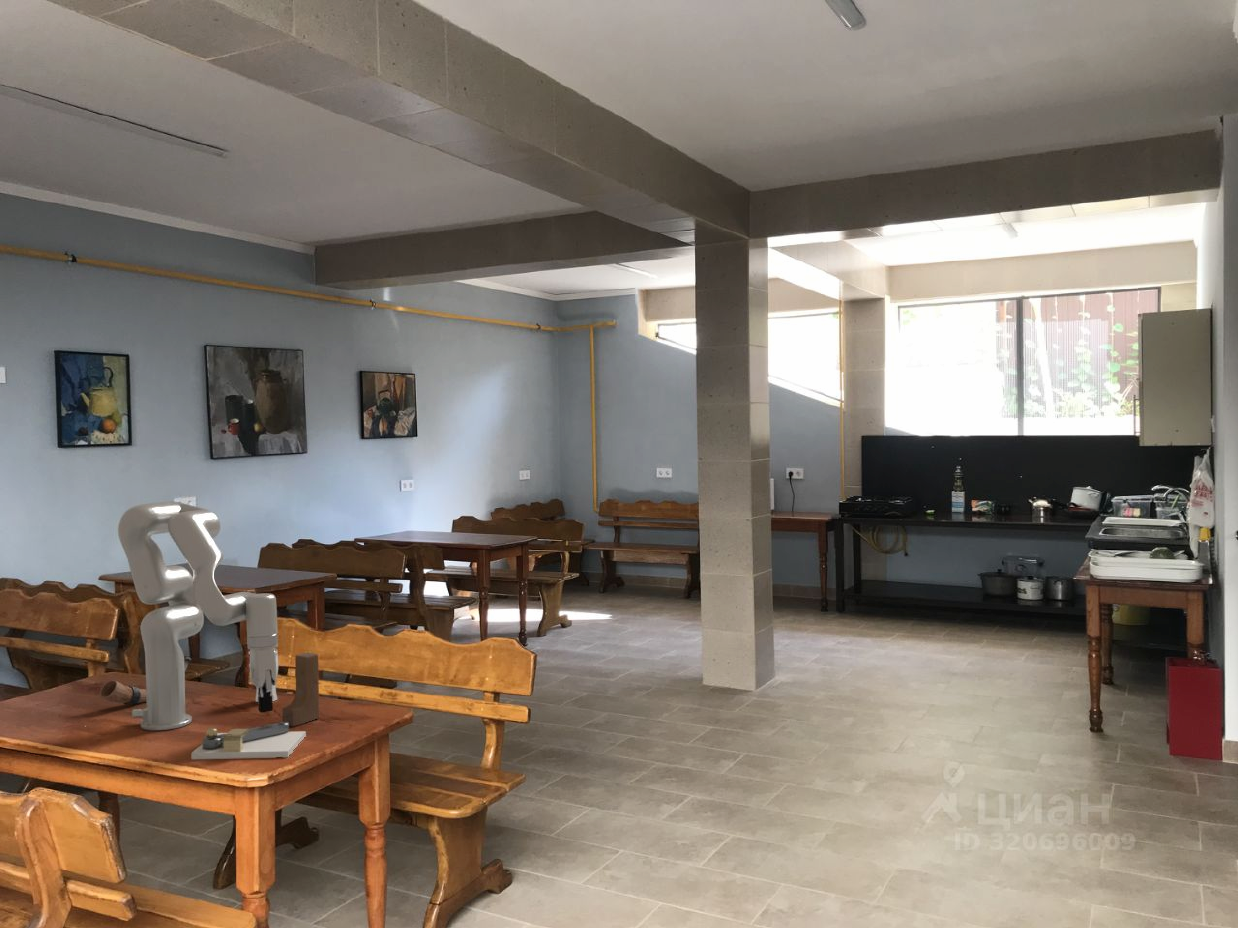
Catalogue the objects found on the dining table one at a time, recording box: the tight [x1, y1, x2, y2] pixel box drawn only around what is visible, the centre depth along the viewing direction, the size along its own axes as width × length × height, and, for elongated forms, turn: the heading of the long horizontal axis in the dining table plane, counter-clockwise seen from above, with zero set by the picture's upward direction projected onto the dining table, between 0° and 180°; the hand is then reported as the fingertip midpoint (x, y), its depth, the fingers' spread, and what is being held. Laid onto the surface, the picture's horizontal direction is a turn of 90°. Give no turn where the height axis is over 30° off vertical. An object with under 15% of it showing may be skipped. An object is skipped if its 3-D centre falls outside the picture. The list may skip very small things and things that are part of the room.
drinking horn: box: [99, 657, 192, 705], centre depth 293 cm, size 6×30×10 cm, turn 154°
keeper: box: [206, 727, 249, 752], centre depth 243 cm, size 9×6×5 cm, turn 93°
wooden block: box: [281, 652, 320, 728], centre depth 270 cm, size 9×4×18 cm, turn 146°
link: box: [201, 721, 290, 749], centre depth 249 cm, size 22×4×2 cm, turn 133°
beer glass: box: [255, 647, 279, 703], centre depth 291 cm, size 7×7×15 cm
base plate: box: [191, 730, 307, 760], centre depth 248 cm, size 23×16×2 cm
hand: (265, 710), depth 260 cm, fingers closed
